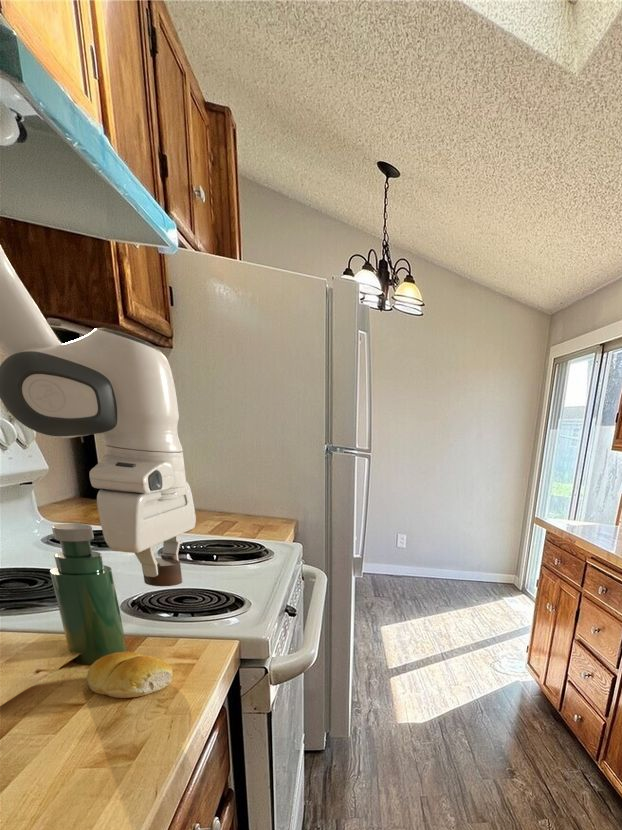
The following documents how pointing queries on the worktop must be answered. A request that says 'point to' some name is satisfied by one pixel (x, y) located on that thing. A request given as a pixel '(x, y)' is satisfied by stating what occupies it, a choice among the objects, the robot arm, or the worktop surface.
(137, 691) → the bread roll
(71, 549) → the green bottle
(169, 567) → the brown cylinder puck
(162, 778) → the worktop surface
